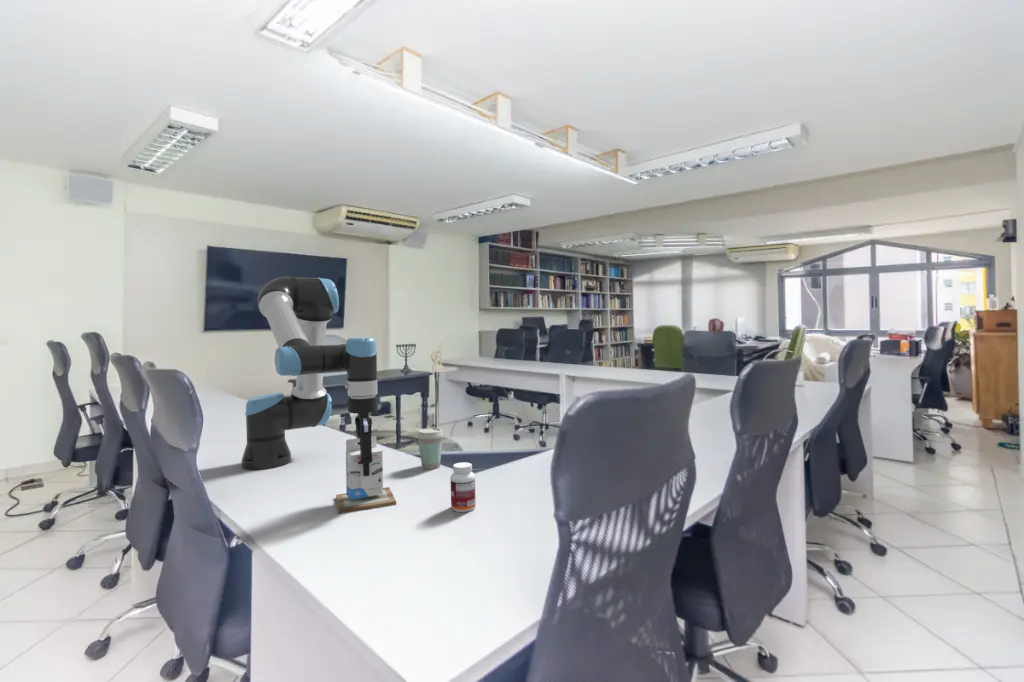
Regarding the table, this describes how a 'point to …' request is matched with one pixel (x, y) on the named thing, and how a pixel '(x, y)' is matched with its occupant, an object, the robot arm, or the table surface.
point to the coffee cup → (430, 447)
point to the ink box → (354, 470)
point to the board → (365, 501)
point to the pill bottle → (463, 488)
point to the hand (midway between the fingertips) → (364, 483)
